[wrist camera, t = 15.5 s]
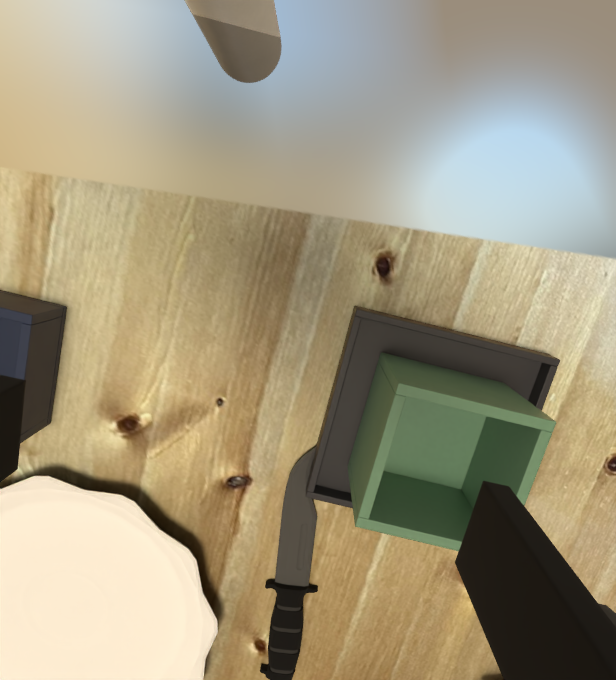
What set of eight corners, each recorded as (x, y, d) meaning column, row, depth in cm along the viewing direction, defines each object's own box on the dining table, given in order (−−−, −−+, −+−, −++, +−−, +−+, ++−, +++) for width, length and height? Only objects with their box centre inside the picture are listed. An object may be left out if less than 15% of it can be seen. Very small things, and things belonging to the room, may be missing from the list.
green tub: (380, 351, 40) (398, 382, 31) (504, 382, 40) (556, 422, 31) (347, 467, 42) (355, 526, 33) (464, 495, 42) (503, 562, 33)
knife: (279, 443, 41) (336, 450, 41) (281, 436, 43) (335, 442, 43) (255, 681, 46) (305, 686, 46) (257, 666, 48) (306, 672, 48)
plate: (-60, 432, 43) (-82, 443, 40) (250, 513, 44) (246, 528, 41) (-91, 687, 49) (-111, 709, 46) (183, 753, 50) (177, 778, 47)
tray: (354, 305, 40) (356, 308, 38) (548, 354, 40) (560, 359, 38) (305, 485, 43) (305, 497, 41) (484, 527, 44) (492, 541, 42)
